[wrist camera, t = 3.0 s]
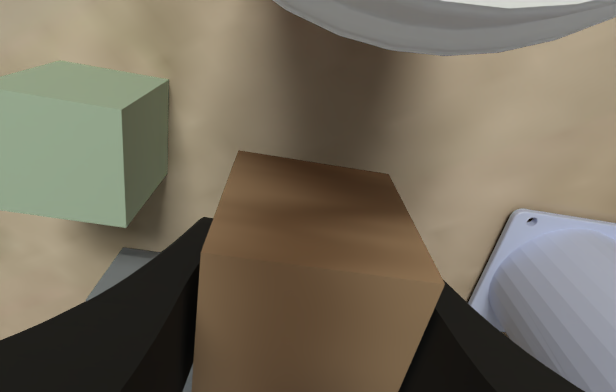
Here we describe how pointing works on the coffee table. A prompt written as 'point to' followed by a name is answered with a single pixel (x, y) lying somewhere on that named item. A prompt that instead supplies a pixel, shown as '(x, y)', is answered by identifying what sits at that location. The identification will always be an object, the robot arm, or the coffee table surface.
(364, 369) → the walnut block
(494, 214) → the coffee table surface
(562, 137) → the coffee table surface
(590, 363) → the robot arm
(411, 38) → the paper cup
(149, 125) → the sage block
